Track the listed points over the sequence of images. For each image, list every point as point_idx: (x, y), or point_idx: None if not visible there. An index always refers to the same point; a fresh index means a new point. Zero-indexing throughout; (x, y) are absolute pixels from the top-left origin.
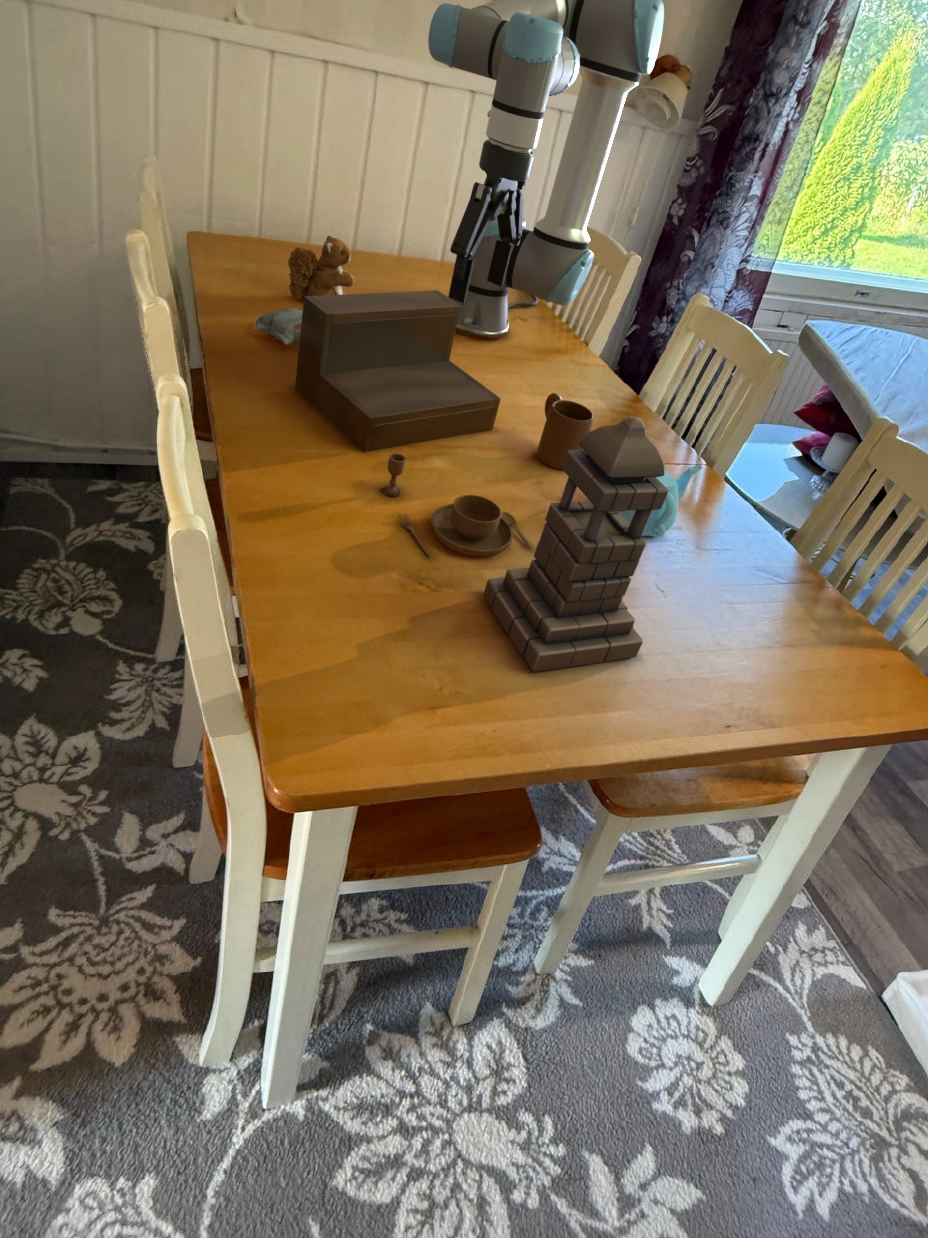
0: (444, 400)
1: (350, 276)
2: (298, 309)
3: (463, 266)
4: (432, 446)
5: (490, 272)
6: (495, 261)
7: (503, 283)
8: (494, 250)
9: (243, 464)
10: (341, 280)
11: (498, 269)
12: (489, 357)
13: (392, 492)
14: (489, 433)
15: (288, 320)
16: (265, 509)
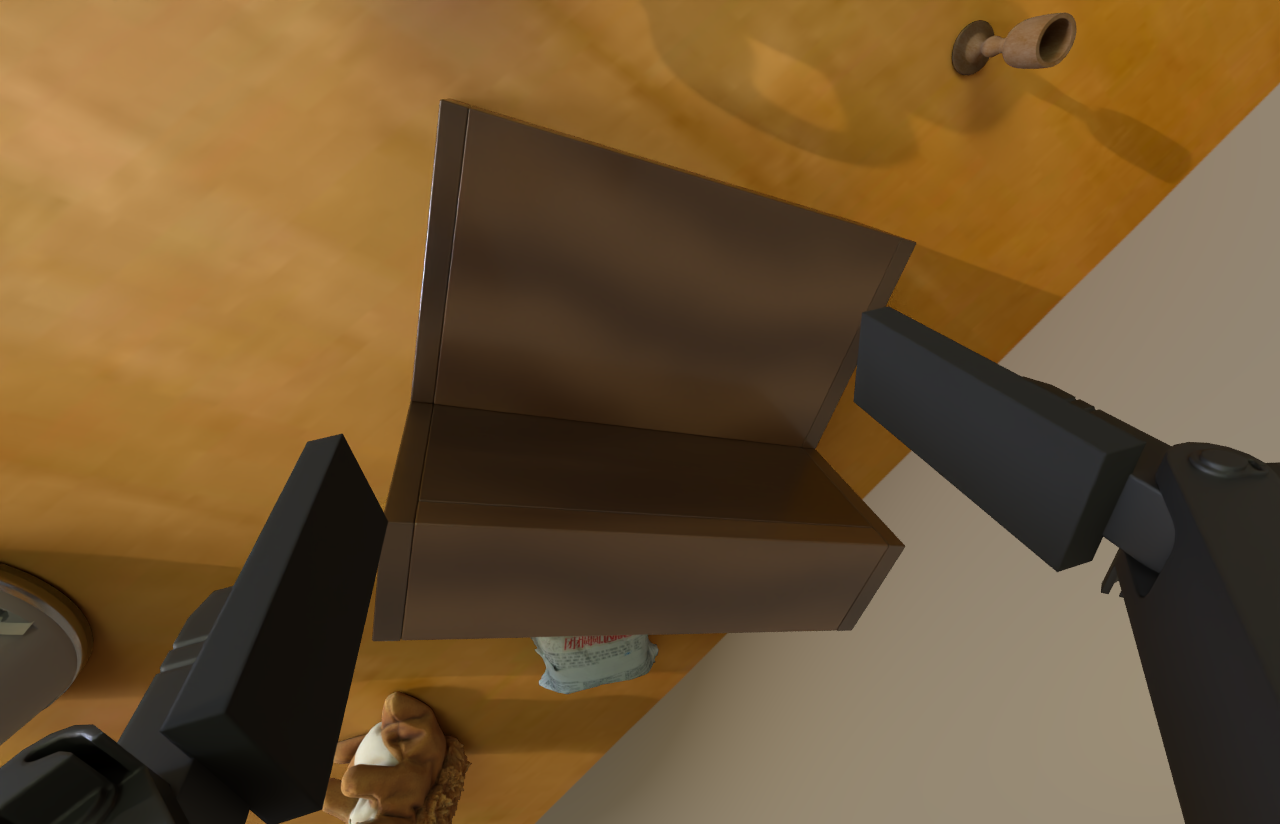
0: (663, 207)
1: (355, 790)
2: (570, 685)
3: (1126, 428)
4: (709, 144)
5: (375, 554)
6: (349, 611)
7: (307, 449)
8: (345, 705)
9: (1033, 305)
10: (382, 778)
11: (339, 544)
12: (46, 460)
13: (987, 36)
14: (481, 87)
15: (630, 650)
16: (1143, 169)
